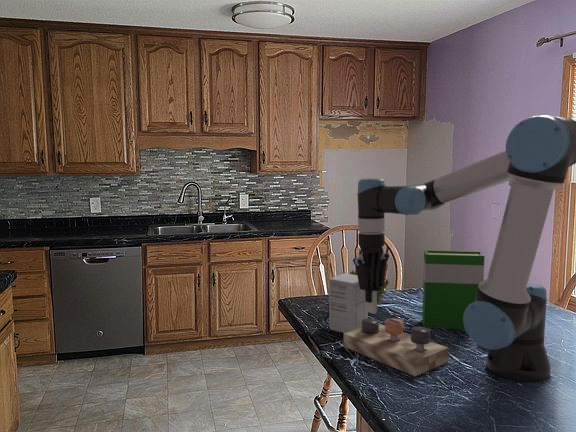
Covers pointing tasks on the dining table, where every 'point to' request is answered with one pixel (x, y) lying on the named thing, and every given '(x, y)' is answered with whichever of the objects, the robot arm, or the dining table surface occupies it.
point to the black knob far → (370, 326)
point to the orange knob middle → (394, 328)
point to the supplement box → (346, 303)
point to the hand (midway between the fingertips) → (371, 312)
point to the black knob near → (420, 337)
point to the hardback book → (450, 286)
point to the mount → (397, 351)
